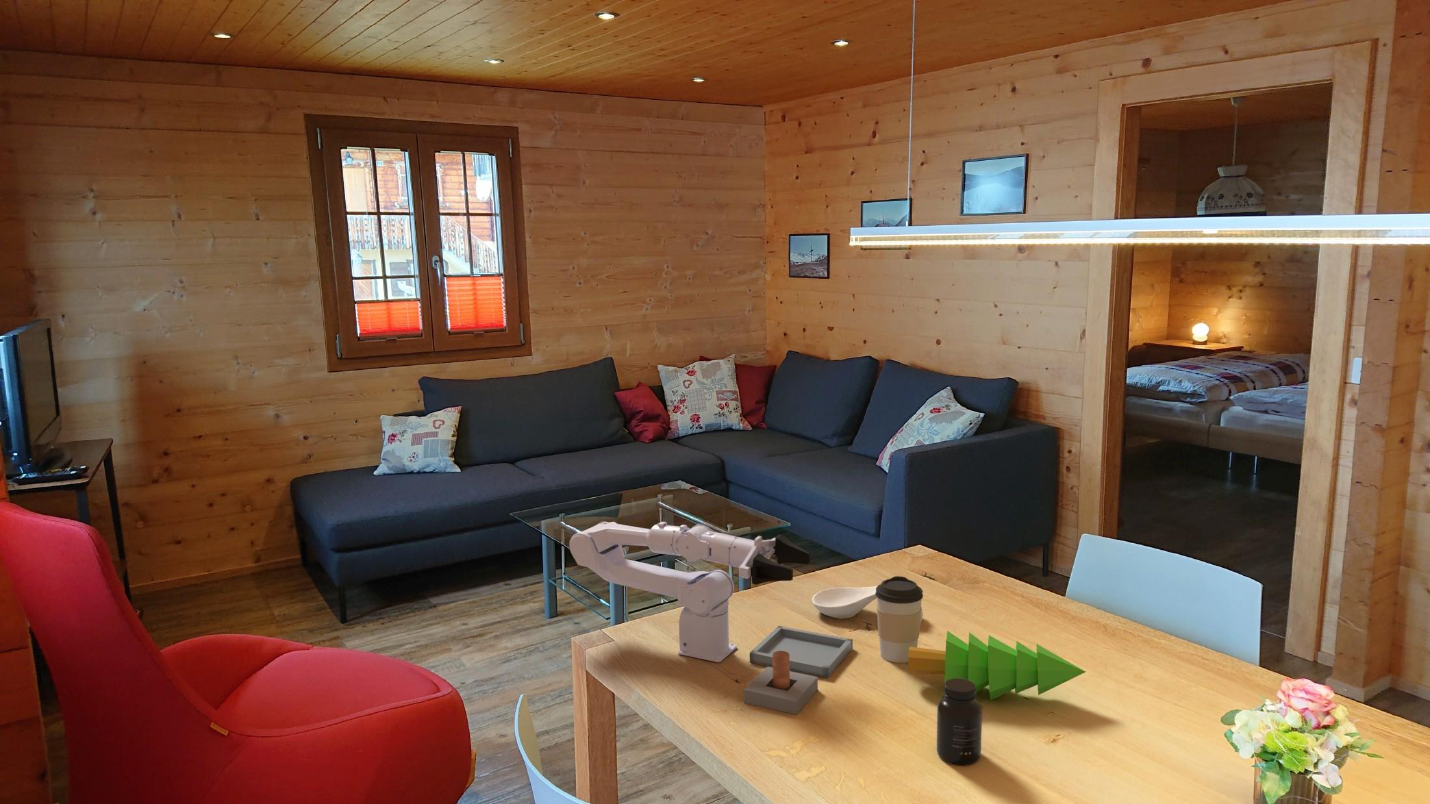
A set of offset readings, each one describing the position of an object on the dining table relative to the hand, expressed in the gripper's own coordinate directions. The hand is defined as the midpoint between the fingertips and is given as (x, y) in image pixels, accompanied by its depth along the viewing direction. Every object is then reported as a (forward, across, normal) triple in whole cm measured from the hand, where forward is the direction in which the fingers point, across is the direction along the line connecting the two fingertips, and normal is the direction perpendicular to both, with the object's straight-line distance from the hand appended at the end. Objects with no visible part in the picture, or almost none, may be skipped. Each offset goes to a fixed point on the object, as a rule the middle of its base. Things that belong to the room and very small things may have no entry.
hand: (801, 566), depth 176 cm
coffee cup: (+15, +13, +22) cm, 30 cm away
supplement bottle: (+35, -17, +18) cm, 43 cm away
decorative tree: (+35, +5, +20) cm, 41 cm away
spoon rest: (+2, +29, +24) cm, 38 cm away
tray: (-2, +5, +22) cm, 22 cm away
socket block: (+2, -12, +20) cm, 23 cm away
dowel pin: (+2, -12, +20) cm, 23 cm away
